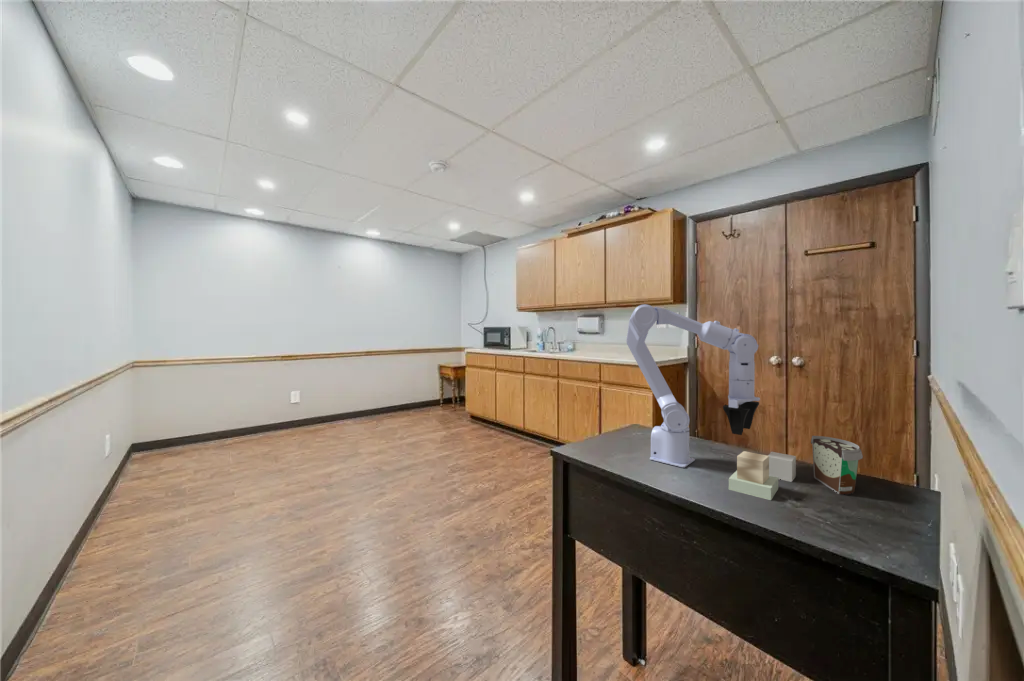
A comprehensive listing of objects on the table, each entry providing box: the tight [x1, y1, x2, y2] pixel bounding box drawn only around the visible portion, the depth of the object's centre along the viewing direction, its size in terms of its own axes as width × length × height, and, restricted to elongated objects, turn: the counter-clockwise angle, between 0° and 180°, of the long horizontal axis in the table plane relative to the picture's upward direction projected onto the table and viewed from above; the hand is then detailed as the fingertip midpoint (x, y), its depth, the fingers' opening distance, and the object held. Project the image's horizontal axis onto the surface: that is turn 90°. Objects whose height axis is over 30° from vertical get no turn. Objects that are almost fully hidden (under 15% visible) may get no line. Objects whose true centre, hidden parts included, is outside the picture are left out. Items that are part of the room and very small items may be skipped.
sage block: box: [728, 470, 779, 501], centre depth 86 cm, size 8×8×3 cm
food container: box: [810, 435, 863, 495], centre depth 86 cm, size 12×6×10 cm, turn 168°
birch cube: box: [736, 450, 769, 484], centre depth 85 cm, size 5×5×5 cm
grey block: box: [767, 451, 797, 483], centre depth 93 cm, size 5×5×5 cm
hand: (741, 431), depth 99 cm, fingers open, 7 cm apart
